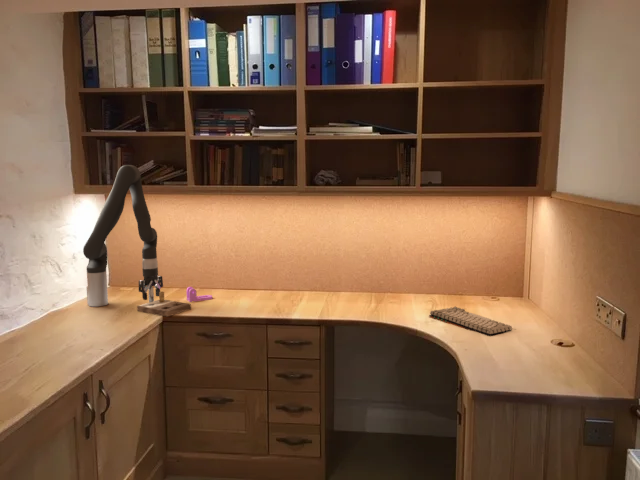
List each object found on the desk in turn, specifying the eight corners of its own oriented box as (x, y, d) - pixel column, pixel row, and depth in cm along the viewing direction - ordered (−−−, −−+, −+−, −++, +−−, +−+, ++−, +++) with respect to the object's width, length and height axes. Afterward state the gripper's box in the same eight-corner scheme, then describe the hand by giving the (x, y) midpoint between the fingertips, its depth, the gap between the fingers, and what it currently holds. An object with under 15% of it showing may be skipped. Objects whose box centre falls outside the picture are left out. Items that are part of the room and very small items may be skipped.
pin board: (137, 311, 262) (136, 295, 261) (161, 303, 276) (161, 289, 275) (167, 316, 253) (166, 300, 251) (190, 308, 266) (190, 293, 265)
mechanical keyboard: (518, 331, 233) (518, 323, 233) (488, 338, 223) (489, 331, 222) (453, 311, 264) (453, 305, 264) (425, 317, 254) (425, 310, 254)
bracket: (189, 302, 280) (189, 289, 279) (186, 299, 285) (186, 287, 284) (213, 299, 286) (213, 286, 285) (210, 297, 291) (210, 284, 290)
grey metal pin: (148, 304, 275) (147, 287, 274) (151, 303, 277) (150, 286, 276) (151, 304, 274) (150, 287, 272) (155, 303, 276) (154, 286, 275)
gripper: (155, 264, 281) (156, 294, 283) (133, 268, 268) (135, 300, 271) (165, 265, 277) (167, 295, 279) (144, 269, 265) (146, 301, 267)
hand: (151, 297), depth 275 cm, fingers open, 8 cm apart
